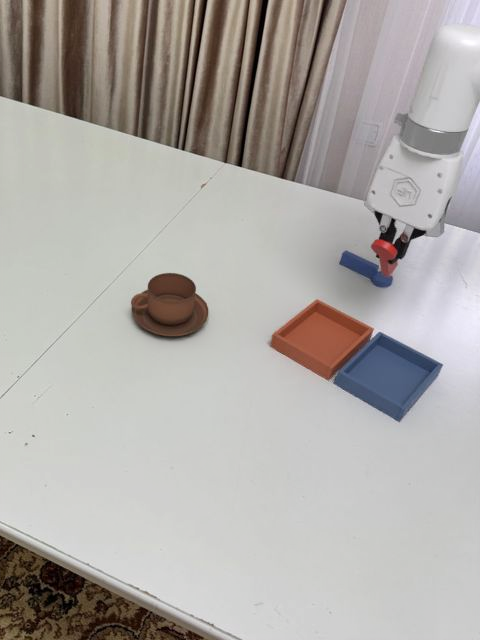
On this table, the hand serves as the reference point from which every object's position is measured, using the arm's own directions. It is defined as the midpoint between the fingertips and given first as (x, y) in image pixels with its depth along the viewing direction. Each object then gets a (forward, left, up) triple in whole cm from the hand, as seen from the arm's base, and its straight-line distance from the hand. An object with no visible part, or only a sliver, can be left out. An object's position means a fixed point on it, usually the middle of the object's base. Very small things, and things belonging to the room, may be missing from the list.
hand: (388, 257), depth 90 cm
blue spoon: (+7, -14, -14) cm, 21 cm away
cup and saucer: (+23, +21, -14) cm, 34 cm away
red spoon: (0, +1, 0) cm, 1 cm away
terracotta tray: (+3, +8, -14) cm, 16 cm away
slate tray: (-8, +8, -14) cm, 18 cm away
